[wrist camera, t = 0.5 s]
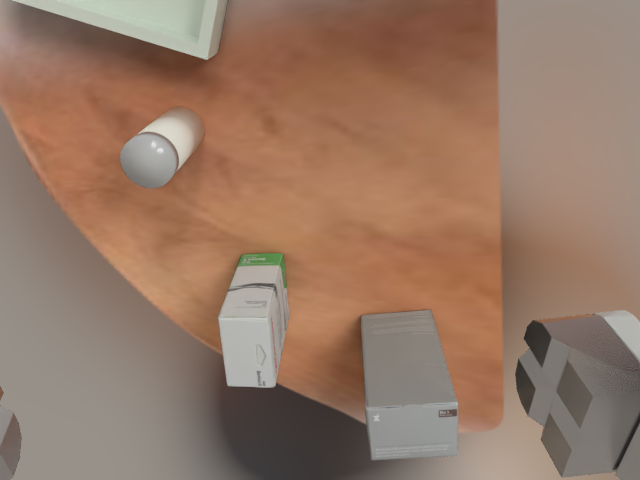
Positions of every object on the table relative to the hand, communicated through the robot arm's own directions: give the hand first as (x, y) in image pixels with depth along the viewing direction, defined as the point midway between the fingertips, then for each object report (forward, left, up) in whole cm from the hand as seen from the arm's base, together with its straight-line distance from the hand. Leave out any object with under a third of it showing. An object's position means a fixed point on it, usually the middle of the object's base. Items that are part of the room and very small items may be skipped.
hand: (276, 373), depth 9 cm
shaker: (+13, -13, -45) cm, 48 cm away
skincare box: (+29, +15, -45) cm, 56 cm away
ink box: (+28, -1, -45) cm, 53 cm away
